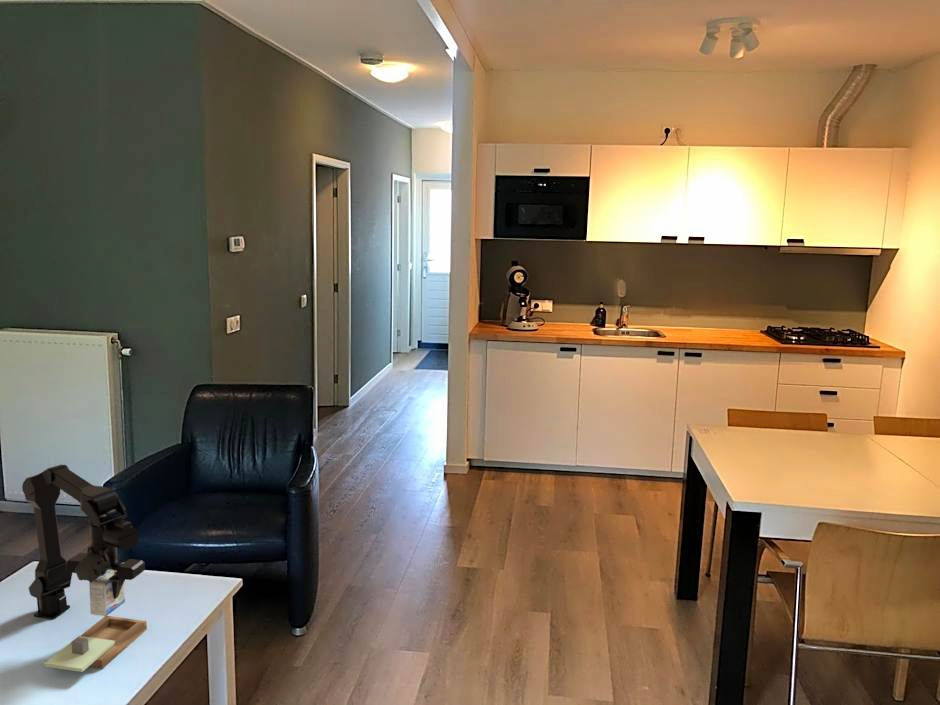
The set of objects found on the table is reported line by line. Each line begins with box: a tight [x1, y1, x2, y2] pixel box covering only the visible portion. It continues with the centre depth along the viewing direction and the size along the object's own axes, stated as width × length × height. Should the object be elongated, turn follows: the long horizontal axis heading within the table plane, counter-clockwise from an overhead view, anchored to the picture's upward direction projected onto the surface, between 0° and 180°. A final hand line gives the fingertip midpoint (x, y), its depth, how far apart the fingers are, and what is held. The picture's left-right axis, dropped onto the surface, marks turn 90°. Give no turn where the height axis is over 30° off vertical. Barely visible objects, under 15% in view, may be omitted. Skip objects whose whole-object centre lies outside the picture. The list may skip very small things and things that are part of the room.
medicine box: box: [88, 570, 126, 617], centre depth 193 cm, size 8×4×9 cm, turn 169°
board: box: [80, 615, 148, 670], centre depth 192 cm, size 12×18×2 cm, turn 169°
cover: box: [43, 635, 115, 673], centre depth 183 cm, size 10×12×4 cm
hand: (107, 596), depth 193 cm, fingers closed on medicine box, 4 cm apart
